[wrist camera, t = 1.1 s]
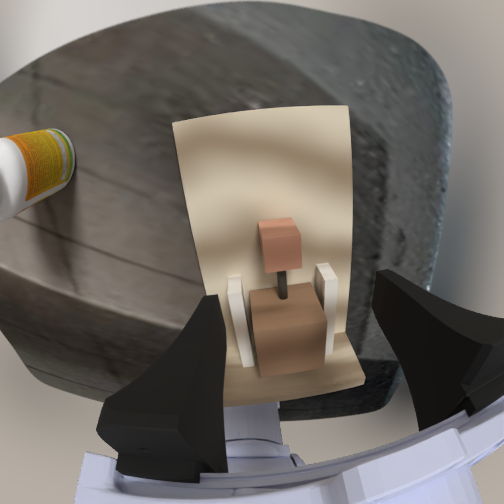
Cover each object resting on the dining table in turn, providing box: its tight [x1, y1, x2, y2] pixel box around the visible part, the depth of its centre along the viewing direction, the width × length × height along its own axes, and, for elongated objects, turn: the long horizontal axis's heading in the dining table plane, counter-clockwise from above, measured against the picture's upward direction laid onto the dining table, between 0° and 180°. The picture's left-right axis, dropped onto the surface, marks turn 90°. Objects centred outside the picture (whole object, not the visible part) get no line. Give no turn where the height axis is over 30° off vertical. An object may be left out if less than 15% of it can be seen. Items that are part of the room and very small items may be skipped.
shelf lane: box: [172, 106, 365, 407], centre depth 19 cm, size 21×12×7 cm, turn 7°
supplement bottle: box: [0, 129, 75, 220], centre depth 13 cm, size 5×5×10 cm
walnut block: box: [250, 217, 328, 378], centre depth 20 cm, size 11×5×5 cm, turn 7°
